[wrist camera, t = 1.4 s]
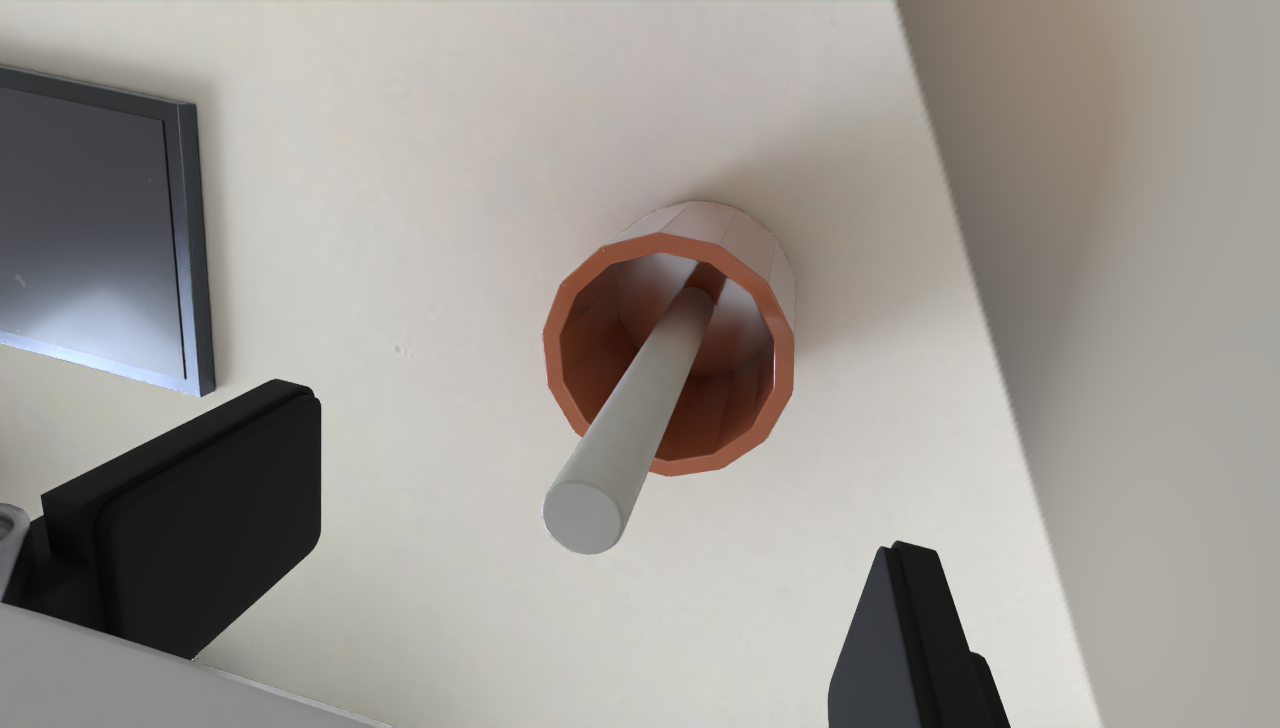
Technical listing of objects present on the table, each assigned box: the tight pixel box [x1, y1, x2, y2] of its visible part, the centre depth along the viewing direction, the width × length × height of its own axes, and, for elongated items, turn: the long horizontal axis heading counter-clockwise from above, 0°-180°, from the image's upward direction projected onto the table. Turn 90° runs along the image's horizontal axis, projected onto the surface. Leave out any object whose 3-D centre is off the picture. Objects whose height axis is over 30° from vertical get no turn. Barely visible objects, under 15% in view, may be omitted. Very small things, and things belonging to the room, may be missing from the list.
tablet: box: [0, 64, 215, 397], centre depth 29 cm, size 12×16×1 cm
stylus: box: [541, 287, 714, 554], centre depth 18 cm, size 1×1×14 cm
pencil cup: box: [542, 201, 795, 477], centre depth 21 cm, size 7×7×7 cm
